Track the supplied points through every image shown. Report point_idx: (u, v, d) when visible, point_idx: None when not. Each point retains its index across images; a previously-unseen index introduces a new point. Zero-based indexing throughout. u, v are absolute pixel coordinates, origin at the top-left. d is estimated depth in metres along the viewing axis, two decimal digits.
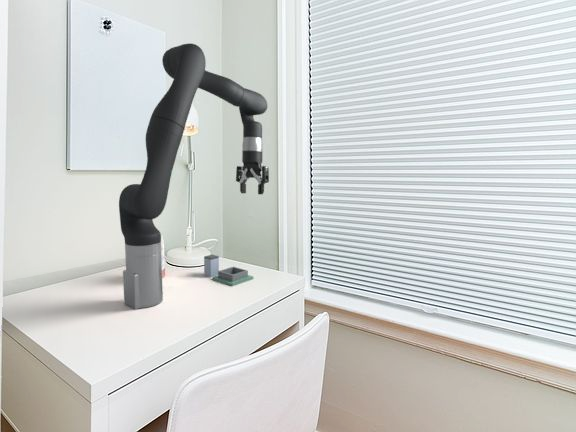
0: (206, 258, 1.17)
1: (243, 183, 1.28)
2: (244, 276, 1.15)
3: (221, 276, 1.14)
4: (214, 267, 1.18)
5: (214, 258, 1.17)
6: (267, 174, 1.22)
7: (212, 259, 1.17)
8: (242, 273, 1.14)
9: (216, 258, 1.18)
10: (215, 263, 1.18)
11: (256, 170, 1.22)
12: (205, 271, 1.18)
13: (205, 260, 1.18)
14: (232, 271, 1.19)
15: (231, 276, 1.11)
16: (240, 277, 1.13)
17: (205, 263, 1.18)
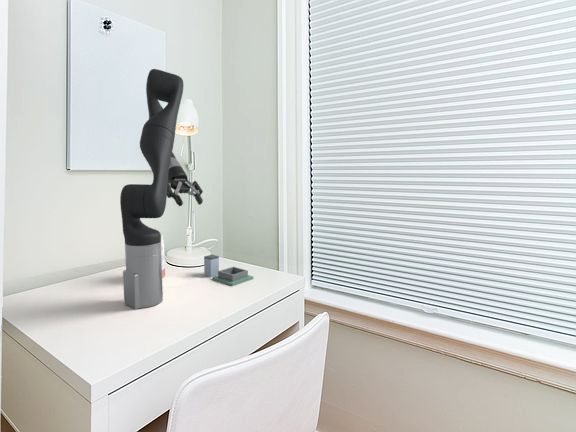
0: (206, 258, 1.17)
1: None
2: (244, 276, 1.15)
3: (221, 276, 1.14)
4: (214, 267, 1.18)
5: (214, 258, 1.17)
6: None
7: (212, 259, 1.17)
8: (242, 273, 1.14)
9: (216, 258, 1.18)
10: (215, 263, 1.18)
11: (189, 184, 1.28)
12: (205, 271, 1.18)
13: (205, 260, 1.18)
14: (232, 271, 1.19)
15: (231, 276, 1.11)
16: (240, 277, 1.13)
17: (205, 263, 1.18)
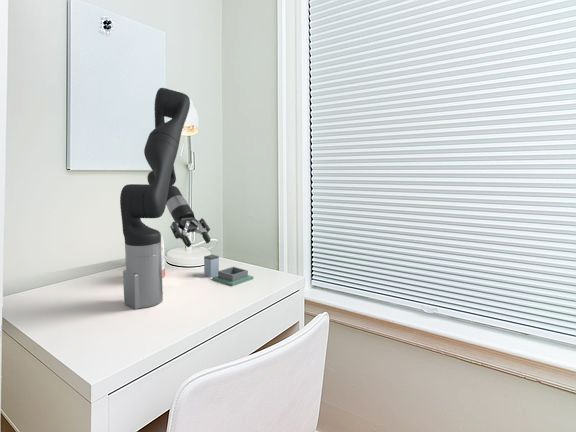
0: (206, 258, 1.17)
1: None
2: (244, 276, 1.15)
3: (221, 276, 1.14)
4: (214, 267, 1.18)
5: (214, 258, 1.17)
6: None
7: (212, 259, 1.17)
8: (242, 273, 1.14)
9: (216, 258, 1.18)
10: (215, 263, 1.18)
11: None
12: (205, 271, 1.18)
13: (205, 260, 1.18)
14: (232, 271, 1.19)
15: (231, 276, 1.11)
16: (240, 277, 1.13)
17: (205, 263, 1.18)
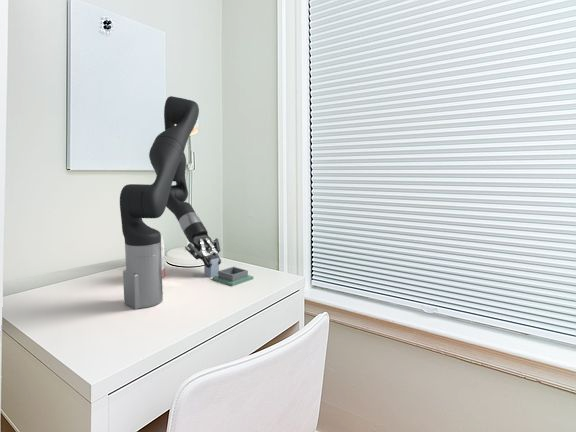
0: None
1: None
2: (244, 276, 1.15)
3: (221, 276, 1.14)
4: (214, 267, 1.18)
5: (214, 258, 1.17)
6: None
7: (212, 259, 1.17)
8: (242, 273, 1.14)
9: (216, 258, 1.18)
10: (215, 263, 1.18)
11: (210, 241, 1.22)
12: (205, 271, 1.18)
13: None
14: (232, 271, 1.19)
15: (231, 276, 1.11)
16: (240, 277, 1.13)
17: None
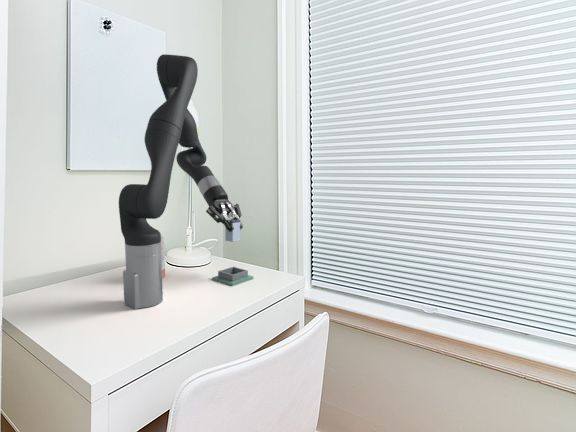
0: None
1: None
2: (244, 276, 1.15)
3: (221, 276, 1.14)
4: (236, 231, 1.12)
5: (236, 222, 1.12)
6: None
7: (234, 223, 1.11)
8: (242, 273, 1.14)
9: (238, 222, 1.12)
10: (237, 227, 1.12)
11: (231, 206, 1.17)
12: (226, 236, 1.13)
13: None
14: (232, 271, 1.19)
15: (231, 276, 1.11)
16: (240, 277, 1.13)
17: None
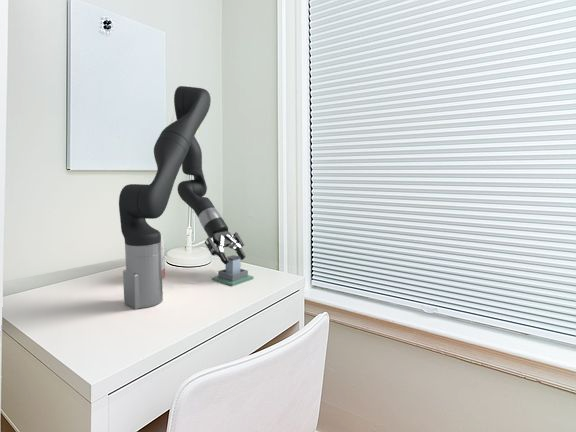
0: None
1: None
2: (244, 276, 1.15)
3: (221, 276, 1.14)
4: (236, 268, 1.14)
5: (236, 259, 1.13)
6: None
7: (234, 260, 1.13)
8: (242, 273, 1.14)
9: (238, 259, 1.14)
10: (237, 264, 1.14)
11: None
12: (226, 272, 1.14)
13: None
14: None
15: (231, 276, 1.11)
16: (240, 277, 1.13)
17: (226, 264, 1.14)
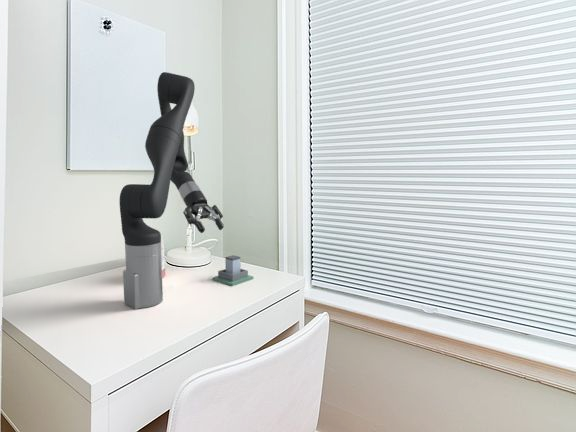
0: (228, 259, 1.13)
1: None
2: (244, 276, 1.15)
3: (221, 276, 1.14)
4: (236, 268, 1.14)
5: (236, 259, 1.13)
6: None
7: (234, 260, 1.13)
8: (242, 273, 1.14)
9: (238, 259, 1.14)
10: (237, 264, 1.14)
11: None
12: (226, 272, 1.14)
13: (227, 261, 1.14)
14: None
15: (231, 276, 1.11)
16: (240, 277, 1.13)
17: (226, 264, 1.14)
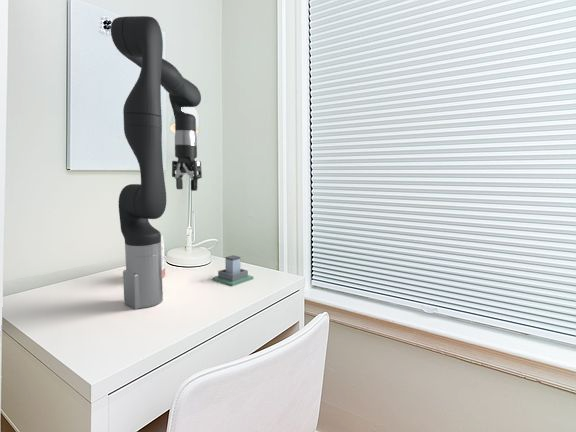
0: (228, 259, 1.13)
1: (179, 179, 1.22)
2: (244, 276, 1.15)
3: (221, 276, 1.14)
4: (236, 268, 1.14)
5: (236, 259, 1.13)
6: (199, 169, 1.15)
7: (234, 260, 1.13)
8: (242, 273, 1.14)
9: (238, 259, 1.14)
10: (237, 264, 1.14)
11: (188, 165, 1.16)
12: (226, 272, 1.14)
13: (227, 261, 1.14)
14: None
15: (231, 276, 1.11)
16: (240, 277, 1.13)
17: (226, 264, 1.14)
